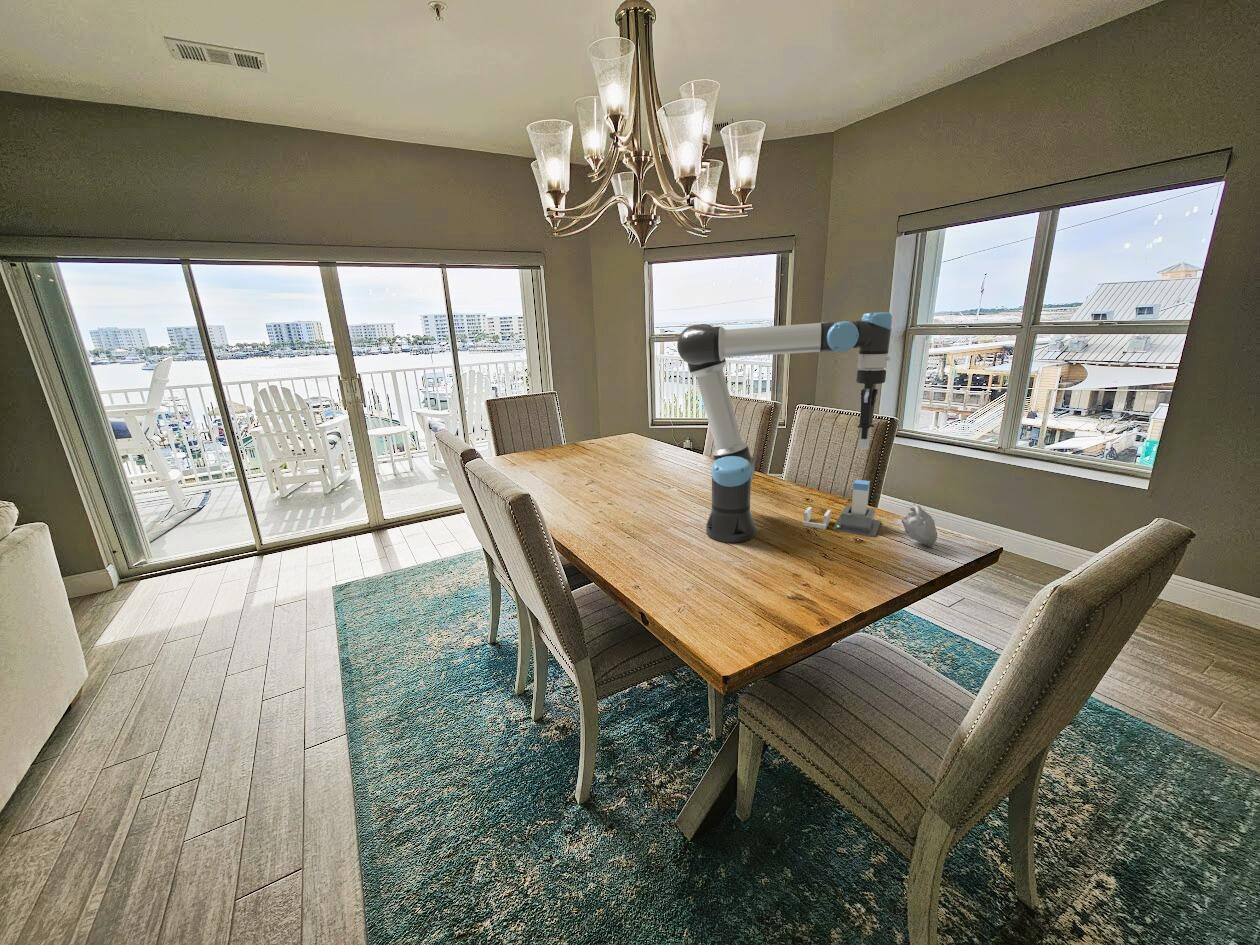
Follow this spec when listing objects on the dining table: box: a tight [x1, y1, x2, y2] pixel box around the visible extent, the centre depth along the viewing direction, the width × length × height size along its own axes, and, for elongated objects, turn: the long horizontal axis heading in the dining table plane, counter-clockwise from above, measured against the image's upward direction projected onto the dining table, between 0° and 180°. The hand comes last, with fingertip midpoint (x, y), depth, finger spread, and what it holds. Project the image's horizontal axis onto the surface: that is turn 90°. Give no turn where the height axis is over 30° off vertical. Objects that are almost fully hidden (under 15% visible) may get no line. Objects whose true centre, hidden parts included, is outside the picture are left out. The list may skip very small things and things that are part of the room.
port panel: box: [832, 504, 882, 538], centre depth 150 cm, size 12×13×5 cm
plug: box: [851, 479, 871, 515], centre depth 149 cm, size 4×4×14 cm
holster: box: [801, 506, 832, 530], centre depth 154 cm, size 7×7×4 cm
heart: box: [901, 504, 938, 548], centre depth 135 cm, size 10×10×12 cm
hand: (863, 448), depth 144 cm, fingers closed
